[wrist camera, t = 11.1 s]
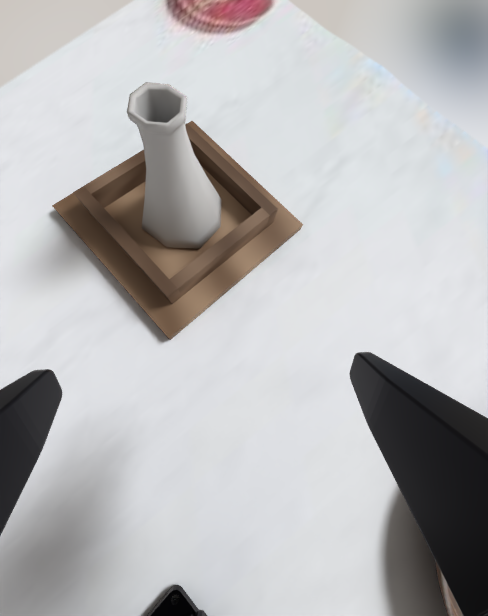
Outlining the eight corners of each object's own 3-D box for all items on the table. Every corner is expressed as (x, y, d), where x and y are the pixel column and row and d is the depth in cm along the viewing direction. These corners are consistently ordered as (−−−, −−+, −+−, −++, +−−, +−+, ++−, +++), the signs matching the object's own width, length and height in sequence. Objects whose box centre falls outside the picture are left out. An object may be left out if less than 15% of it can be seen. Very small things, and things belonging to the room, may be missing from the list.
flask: (206, 262, 23) (195, 175, 13) (128, 235, 23) (60, 128, 13) (233, 197, 25) (241, 80, 15) (162, 172, 25) (124, 40, 15)
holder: (170, 339, 21) (163, 334, 19) (57, 211, 24) (36, 189, 21) (300, 229, 25) (309, 211, 23) (192, 127, 27) (189, 100, 25)
